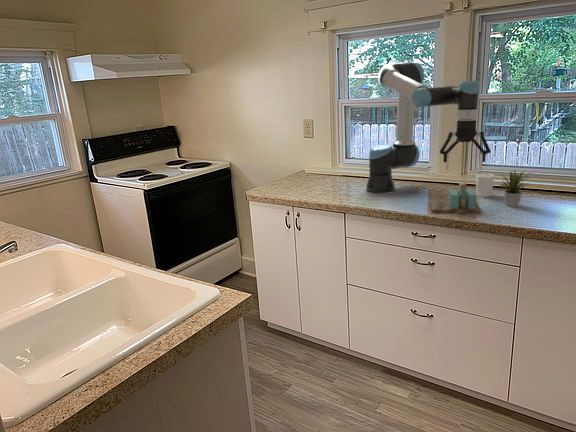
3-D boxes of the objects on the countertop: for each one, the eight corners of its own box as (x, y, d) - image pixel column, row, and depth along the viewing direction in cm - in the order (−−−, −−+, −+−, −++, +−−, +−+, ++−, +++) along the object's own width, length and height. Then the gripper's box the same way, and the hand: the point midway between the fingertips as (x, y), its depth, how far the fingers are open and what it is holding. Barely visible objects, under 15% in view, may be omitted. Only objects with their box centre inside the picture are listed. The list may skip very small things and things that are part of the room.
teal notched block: (448, 202, 199) (449, 189, 197) (472, 202, 196) (472, 189, 194) (450, 208, 190) (451, 195, 188) (475, 208, 187) (476, 195, 185)
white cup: (494, 197, 208) (496, 177, 205) (476, 197, 209) (478, 177, 206) (490, 193, 215) (492, 173, 212) (473, 193, 217) (474, 173, 214)
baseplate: (431, 212, 190) (432, 187, 187) (429, 204, 203) (430, 180, 199) (480, 213, 185) (482, 187, 182) (476, 205, 197) (477, 180, 194)
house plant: (540, 207, 188) (545, 170, 183) (514, 211, 185) (518, 174, 180) (515, 200, 201) (518, 165, 197) (490, 204, 198) (493, 168, 193)
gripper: (436, 121, 182) (433, 171, 188) (501, 119, 175) (496, 171, 182) (434, 119, 188) (432, 167, 195) (497, 117, 182) (492, 167, 189)
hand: (463, 169), depth 188 cm, fingers open, 13 cm apart
